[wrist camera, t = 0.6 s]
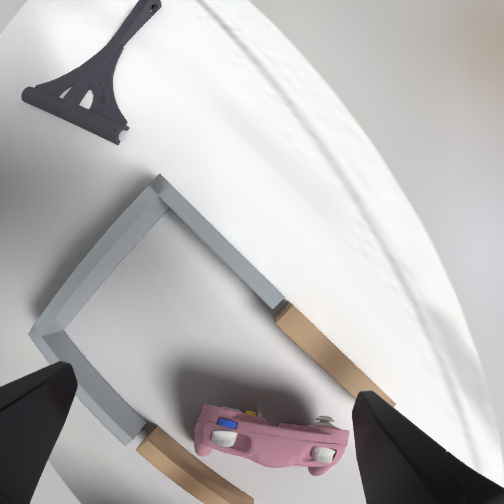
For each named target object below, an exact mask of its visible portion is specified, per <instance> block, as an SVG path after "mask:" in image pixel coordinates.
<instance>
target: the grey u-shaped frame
mask: <svg viewBox="0 0 504 504" xmlns="http://www.w3.org/2000/svg"><path fill="white" fill-rule="evenodd" d="M169 208H171V209H172V210H173V211H174V212H175V213H176V214H177V215H178V216H179V217H180V218H181V219H182V220H183V221H184V222H185V223H186V224H187V225H188V226H189V227H190V228H191V229H192V230H193V231H194V232H195V233H196V234H197V235H198V236H199V237H200V239H201V240H202V241H203V242H204V243H205V244H206V245H207V246H208V247H209V248H210V249H211V250H212V251H213V252H214V253H215V254H216V255H217V256H218V257H219V258H220V259H221V260H222V261H223V262H225V263H226V264H227V265H228V266H229V267H230V268H231V269H232V270H233V271H234V272H235V273H236V274H237V275H238V276H239V277H240V278H241V279H242V280H243V281H244V282H245V283H246V284H247V285H248V286H249V287H250V288H251V289H252V290H253V291H254V292H255V293H256V294H257V295H258V296H259V297H260V298H261V299H262V300H263V301H264V302H265V303H266V304H267V305H268V306H269V307H270V308H271V309H272V310H273V309H274V308H275V307H276V306H277V305H278V304H279V303H280V302H281V301H282V300H283V299H284V298H285V296H284V295H282V294H281V293H280V292H279V291H278V290H277V289H276V288H275V287H274V286H273V285H272V284H271V283H270V282H269V281H268V280H267V279H266V278H265V277H264V276H263V275H262V274H261V273H260V272H259V271H258V270H257V269H256V268H255V267H254V266H253V265H252V264H251V263H250V262H249V261H248V260H247V259H246V258H245V257H244V256H243V255H242V254H241V253H240V252H239V251H238V250H237V249H235V248H234V247H233V246H232V245H231V244H230V243H229V242H228V241H227V240H226V239H225V238H224V237H223V236H222V235H221V234H220V233H219V232H218V231H217V230H216V229H215V228H214V227H213V226H212V225H211V224H210V223H209V222H208V221H207V220H206V219H205V218H204V217H203V216H202V215H201V214H200V213H199V212H198V211H197V210H196V209H195V208H194V207H193V206H192V205H191V204H190V203H189V202H188V201H187V200H186V199H185V198H184V197H183V196H182V195H181V194H180V193H179V192H178V191H177V190H176V189H175V188H174V187H173V186H172V185H171V184H170V183H169V182H168V181H167V180H166V179H165V178H164V177H163V176H162V175H161V174H159V175H158V176H157V177H156V178H155V179H154V180H153V181H152V182H151V183H150V184H149V185H148V186H147V187H146V188H145V190H144V191H143V192H142V193H141V194H140V195H139V196H138V197H137V198H136V199H135V200H134V201H133V202H132V203H131V204H130V205H129V207H128V208H127V209H126V210H125V211H124V212H123V213H122V214H121V215H120V216H119V218H118V219H117V220H116V221H115V222H114V223H113V224H112V225H111V227H110V228H109V229H108V230H107V231H106V232H105V233H104V235H103V236H102V237H101V238H100V239H99V241H98V242H97V243H96V244H95V245H94V246H93V248H92V249H91V250H90V251H89V252H88V254H87V255H86V256H85V257H84V259H83V260H82V261H81V262H80V264H79V265H78V266H77V267H76V269H75V270H74V271H73V272H72V274H71V275H70V276H69V278H68V279H67V280H66V281H65V283H64V284H63V285H62V287H61V288H60V289H59V291H58V292H57V293H56V295H55V296H54V297H53V299H52V300H51V302H50V303H49V304H48V306H47V307H46V309H45V310H44V311H43V313H42V314H41V316H40V317H39V318H38V320H37V321H36V323H35V324H34V326H33V327H32V329H31V330H30V332H29V333H28V335H29V336H30V338H31V339H32V341H33V342H34V343H35V345H36V346H37V348H38V349H39V350H40V352H41V353H42V354H43V356H44V357H45V358H46V360H47V361H48V362H49V364H50V365H52V364H54V363H56V362H58V361H64V362H68V363H70V364H71V365H72V366H73V369H74V372H75V376H76V379H77V382H78V388H77V391H76V394H75V395H76V396H77V398H78V399H79V400H80V401H81V402H82V403H83V404H84V405H85V406H86V408H87V409H88V410H89V411H90V412H91V413H92V414H93V415H94V416H95V417H96V418H97V419H98V420H99V421H100V422H101V423H102V424H103V425H104V426H105V427H106V428H107V429H108V430H109V431H110V432H111V433H112V434H113V435H114V436H115V437H116V438H117V439H118V440H119V441H120V442H121V443H122V444H123V445H124V446H126V445H127V444H128V443H130V442H131V441H132V440H133V439H134V438H135V436H136V435H137V434H138V433H139V431H140V430H141V429H142V427H143V426H144V425H145V424H146V421H145V420H144V419H143V418H142V417H141V416H140V415H139V414H137V413H136V412H135V411H134V410H133V409H132V408H131V407H130V406H129V405H128V404H127V403H126V402H125V401H124V400H123V399H122V398H121V397H120V396H119V395H118V394H117V392H116V391H115V390H114V389H113V388H112V387H111V386H110V385H109V384H108V383H107V382H106V381H105V380H104V379H103V377H102V376H101V375H100V374H99V373H98V372H97V371H96V370H95V368H94V367H93V366H92V365H91V364H90V363H89V362H88V360H87V359H86V358H85V357H84V356H83V354H82V353H81V352H80V351H79V350H78V348H77V347H76V346H75V345H74V343H73V342H72V341H71V340H70V338H69V337H68V336H67V335H66V333H65V332H64V331H63V330H64V329H65V328H66V327H67V325H68V324H69V323H70V321H71V320H72V319H73V318H74V316H75V315H76V314H77V313H78V311H79V310H80V309H81V308H82V306H83V305H84V304H85V303H86V301H87V300H88V299H89V298H90V297H91V295H92V294H93V293H94V292H95V291H96V289H97V288H98V287H99V286H100V285H101V283H102V282H103V281H104V280H105V279H106V277H107V276H108V275H109V274H110V273H111V272H112V271H113V269H114V268H115V267H116V266H117V265H118V264H119V262H120V261H121V260H122V259H123V258H124V257H125V256H126V255H127V253H128V252H129V251H130V250H131V249H132V248H133V247H134V246H135V245H136V243H137V242H138V241H139V240H140V239H141V238H142V237H143V236H144V235H145V234H146V233H147V232H148V230H149V229H150V228H151V227H152V226H153V225H154V224H155V223H156V222H157V221H158V220H159V219H160V218H161V217H162V216H163V215H164V214H165V212H166V211H167V210H168V209H169Z"/></svg>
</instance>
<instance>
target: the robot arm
mask: <svg viewBox="0 0 504 504" xmlns="http://www.w3.org/2000/svg"><path fill="white" fill-rule="evenodd" d="M77 388H78V382H77V379H76V376H75V372H74V369H73V366H72V365H71V364H70V363H68V362H64V361H58V362H56V363H54V364H52V365H49V366H47V367H45V368H43V369H40V370H38V371H36V372H33V373H31V374H29V375H27V376H24V377H22V378H20V379H17V380H15V381H13V382H10V383H8V384H6V385H4V386H1V387H0V504H30V501H31V499H32V496H33V494H34V491H35V489H36V486H37V484H38V481H39V479H40V477H41V474H42V472H43V470H44V467H45V465H46V463H47V461H48V458H49V456H50V454H51V452H52V450H53V447H54V445H55V443H56V441H57V439H58V437H59V434H60V432H61V430H62V428H63V426H64V424H65V421H66V418H67V416H68V413H69V410H70V407H71V404H72V402H73V399H74V396H75V394H76V391H77ZM352 421H353V429H354V438H355V448H356V457H357V462H358V466H359V471H360V475H361V480H362V484H363V489H364V493H365V498H366V503H367V504H504V488H503V487H501V486H500V485H498V484H496V483H494V482H493V481H491V480H489V479H488V478H486V477H484V476H483V475H481V474H479V473H478V472H476V471H475V470H473V469H471V468H470V467H468V466H467V465H465V464H464V463H463V462H461V461H460V460H459V459H457V458H456V457H455V456H453V455H452V454H451V453H450V452H448V451H447V452H446V449H444V448H443V447H442V446H441V445H439V444H438V443H437V442H436V441H434V440H433V439H432V438H431V437H429V436H428V435H427V434H426V433H424V432H423V431H422V430H421V429H419V428H418V427H417V426H416V425H414V424H413V423H412V422H411V421H409V420H408V419H407V418H406V417H405V416H403V415H402V414H401V413H400V412H398V411H397V410H396V409H395V408H394V407H392V406H391V405H390V404H389V403H387V402H386V401H385V400H384V399H383V398H381V397H380V396H379V395H378V394H377V393H375V392H374V391H372V390H364V391H360V392H359V393H358V395H357V398H356V401H355V404H354V407H353V410H352Z"/></svg>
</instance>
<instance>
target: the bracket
mask: <svg viewBox="0 0 504 504" xmlns="http://www.w3.org/2000/svg"><path fill="white" fill-rule="evenodd" d="M152 6H153V10H152V11H151V9H152ZM160 8H161V1H160V0H139V1H138V2H137V4H136V5H135V7H134V8H133V10H132V11H131V13H130V14H129V15H128V17H127V18H126V20H125V21H124V23H123V24H122V25H121V27H120V28H119V30H118V31H117V32H116V34H115V35H114V36H113V38H112V39H111V40H110V41H109V43H108V44H107V45H106V46H105V47H104V48H103V49H102V50H100V51H99V52H98V53H97V54H96V55H94V56H93V57H92V58H91V59H89V60H88V61H86V62H85V63H84V64H82V65H81V66H80V67H78V68H76V69H74V70H73V71H71V72H69V73H67V74H65V75H64V76H61V77H59V78H57V79H55V80H52V81H50V82H47V83H43V84H40V85H36V87H35V88H33V87H27V88H25V89H24V91H23V92H22V100H23V101H24V102H27V103H29V104H31V105H33V106H36V107H38V108H40V109H42V110H44V111H47V112H49V113H51V114H53V115H55V116H58V117H60V118H62V119H64V120H66V121H68V122H71V123H73V124H75V125H77V126H79V127H81V128H83V129H86V130H88V131H90V132H92V133H94V134H96V135H98V136H100V137H102V138H104V139H107V140H109V141H111V142H113V143H115V144H117V145H119V143H120V141H119V139H118V137H119V134H120V132H121V131H122V130H123V129H124V130H126V131H128V129H129V127H128V126H126V124H127V121H126V119H125V118H124V116H123V115H122V113H121V112H120V110H119V108H118V106H117V103H116V100H115V97H114V91H113V75H114V71H115V67H116V64H117V61H118V59H119V57H120V55H121V53H122V51H123V47H124V46H125V44H126V43H127V42H128V41H129V40H130V39H131V38H132V37H133V36H134V34H135V33H136V32H137V31H138V30H139V29H140V28H141V27H142V26H143V25H144V24H145V23H146V22H147V21H148V20H149V19H150V18H151V17H152V16H153V15H154V14H155V13H156V12H157V11H158V10H159V9H160ZM150 11H151V12H150ZM72 86H73V87H72ZM70 87H72V88H71V89H70V90H69V92H68V93H67V94H66V95H65V97H64V98H63V99H62V98H59V96H60V95H61V94H62V93H63V92H64V91H65V90H67V89H68V88H70ZM89 89H91V90H92V91H93V94H94V100H93V103H92V106H91V108H90V109H86V108H84V107H82V106H79V104H80V102H81V101H82V99H83V97H84V96H85V95H86V93H87V92H88V90H89Z"/></svg>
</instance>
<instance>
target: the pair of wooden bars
mask: <svg viewBox="0 0 504 504" xmlns="http://www.w3.org/2000/svg"><path fill="white" fill-rule="evenodd" d="M274 321H275V324H276V325H277V326H278V327H279V328H280V329H281V330H283V331H284V332H285V333H286V334H287V335H288V336H289V337H290V338H291V339H292V340H293V341H294V342H295V343H296V344H297V345H298V346H299V347H300V348H302V349H303V350H304V351H305V352H306V353H307V354H308V355H309V356H310V357H311V358H312V359H313V360H314V361H315V362H317V363H318V364H319V365H320V366H321V367H322V368H323V369H324V370H325V371H326V372H327V373H328V374H330V375H331V376H332V377H333V378H334V379H335V380H336V381H337V382H338V383H339V384H340V385H342V386H343V387H344V388H345V389H346V390H347V391H348V392H349V393H350V394H351V395H353V396H354V397H355V398H357V395H358V393H359V392H360V391H364V390H372V391H374V392H375V393H377V394H378V395H379V396H380V397H381V398H383V399H384V400H385V401H386V402H387V403H389V404H390V405H391V406H392V407H394V406H395V405H396V403H394V402H393V401H392V400H391V399H390V398H389V397H388V396H387V395H386V394H385V393H384V392H383V391H382V390H381V389H380V388H379V387H378V386H377V385H376V384H375V383H374V382H372V381H371V380H370V379H369V378H368V377H367V376H366V375H365V374H364V373H363V372H362V371H361V370H360V369H359V368H358V367H357V366H356V365H355V364H354V363H353V362H352V361H351V360H350V359H348V358H347V357H346V356H345V355H344V354H343V353H342V352H341V351H340V350H339V349H338V348H337V347H336V346H335V345H334V344H333V343H332V342H331V341H330V340H329V339H328V338H327V337H326V336H325V335H324V334H323V333H322V332H320V331H319V330H318V329H317V328H316V327H315V326H314V325H313V324H312V323H311V322H310V321H309V320H308V319H307V318H306V317H305V316H304V315H303V314H302V313H301V312H300V311H299V310H298V309H297V308H296V307H295V306H294V305H292V304H291V303H290V302H289V303H288V304H287V305H286V306H285V307H284V308H283V309H282V310H281V311H280V312H279V313H278V314H277V315H276V316H275V317H274ZM136 451H137V452H138V453H139V454H140V455H142V456H143V457H144V458H145V459H146V460H147V461H149V462H150V463H151V464H152V465H153V466H155V467H156V468H157V469H158V470H160V471H161V472H162V473H163V474H165V475H166V476H167V477H168V478H170V479H171V480H172V481H174V482H175V483H176V484H178V485H179V486H180V487H182V488H183V489H184V490H186V491H187V492H188V493H190V494H191V495H193V496H194V497H195V498H197V499H198V500H200V501H201V502H203V503H204V504H254V499H253V498H252V497H250V496H248V495H247V494H245V493H244V492H242V491H241V490H239V489H238V488H236V487H235V486H233V485H232V484H231V483H229V482H228V481H226V480H225V479H223V478H222V477H221V476H219V475H218V474H217V473H215V472H214V471H212V470H211V469H210V468H208V467H207V466H206V465H205V464H203V463H202V462H201V461H199V460H198V459H197V458H196V457H194V456H193V455H192V454H191V453H189V452H188V451H187V450H186V449H184V448H183V447H182V446H181V445H180V444H178V443H177V442H176V441H175V440H174V439H173V438H171V437H170V436H169V435H168V434H167V433H166V432H164V431H163V430H162V429H161V428H160V427H159V426H157V427H156V428H154V429H153V430H152V431H151V432H150V433H149V434H147V435H146V437H145V438H144V439H143V441H142V442H141V443H140V445H139V446H138V448H137V449H136Z"/></svg>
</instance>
